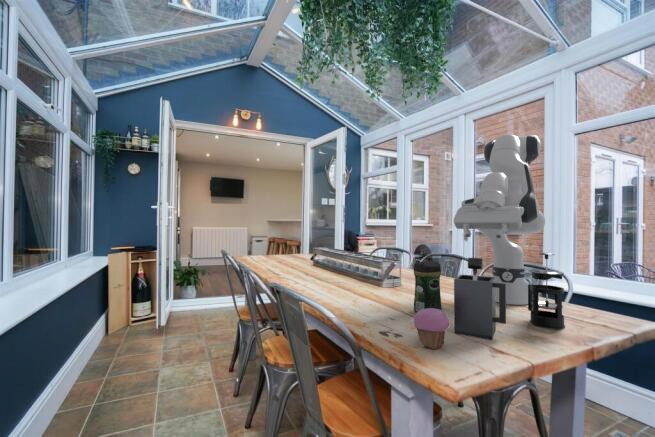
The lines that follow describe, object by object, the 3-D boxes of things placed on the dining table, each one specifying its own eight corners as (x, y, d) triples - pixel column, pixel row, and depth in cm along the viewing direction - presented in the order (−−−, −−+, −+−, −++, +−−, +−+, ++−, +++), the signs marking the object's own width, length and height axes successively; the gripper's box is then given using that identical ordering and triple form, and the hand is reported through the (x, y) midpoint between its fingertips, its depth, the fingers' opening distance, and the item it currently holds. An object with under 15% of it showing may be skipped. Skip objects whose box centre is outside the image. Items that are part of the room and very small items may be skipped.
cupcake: (454, 346, 84) (454, 308, 84) (441, 356, 77) (441, 314, 78) (422, 338, 90) (422, 302, 90) (407, 346, 83) (407, 308, 83)
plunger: (463, 308, 101) (463, 256, 101) (490, 312, 96) (490, 257, 97) (459, 314, 94) (459, 258, 94) (487, 318, 90) (487, 260, 90)
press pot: (460, 324, 102) (460, 274, 102) (507, 332, 95) (506, 278, 95) (454, 333, 94) (454, 278, 94) (504, 342, 87) (504, 283, 87)
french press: (575, 328, 99) (574, 254, 99) (550, 331, 96) (549, 254, 97) (541, 317, 110) (540, 251, 110) (518, 319, 108) (518, 251, 108)
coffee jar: (429, 308, 122) (429, 259, 123) (445, 313, 115) (445, 261, 116) (409, 310, 118) (409, 260, 118) (424, 316, 111) (424, 263, 111)
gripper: (526, 212, 105) (521, 244, 97) (461, 213, 118) (452, 241, 110) (523, 198, 101) (518, 229, 94) (457, 201, 114) (448, 229, 107)
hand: (482, 236), depth 102 cm, fingers open, 8 cm apart
